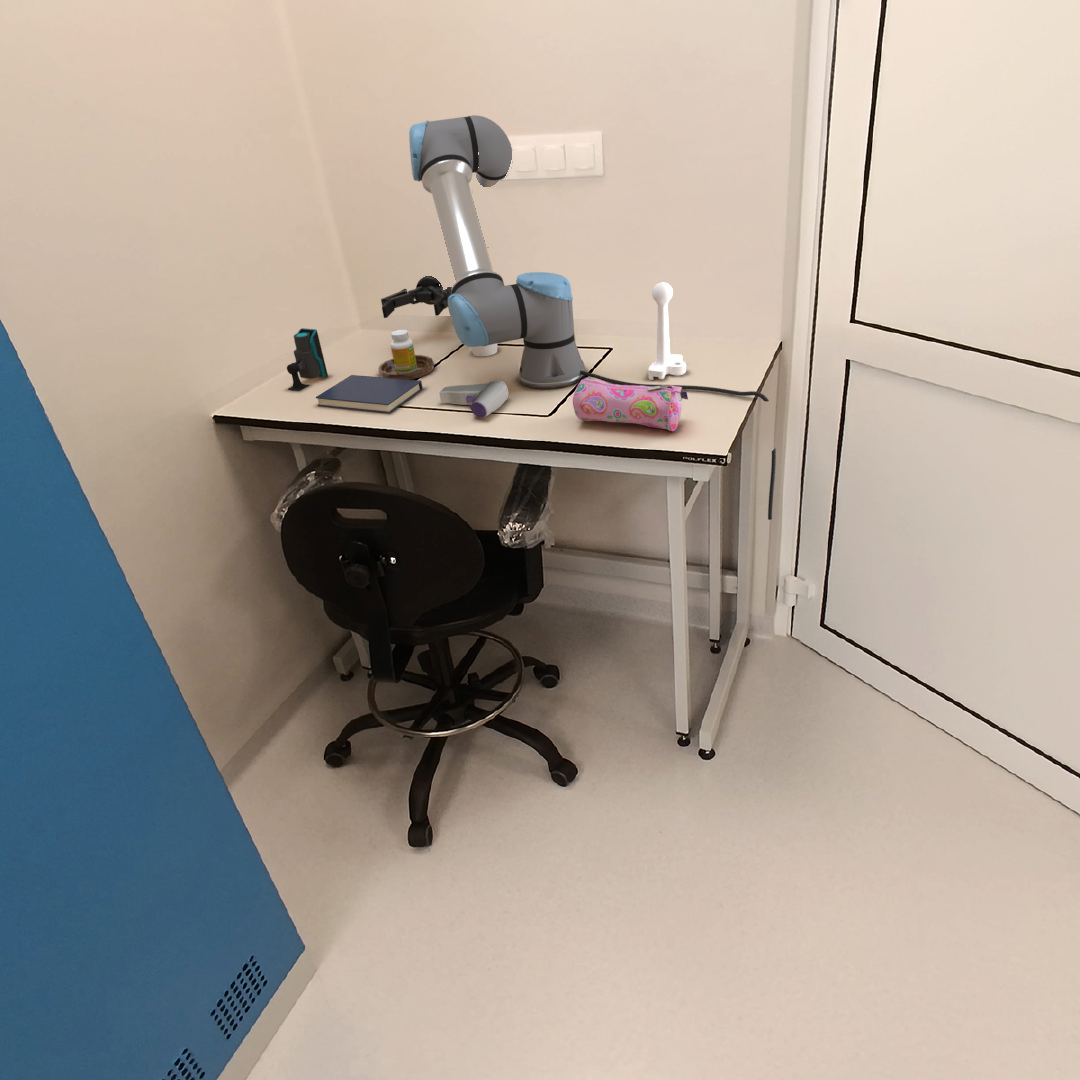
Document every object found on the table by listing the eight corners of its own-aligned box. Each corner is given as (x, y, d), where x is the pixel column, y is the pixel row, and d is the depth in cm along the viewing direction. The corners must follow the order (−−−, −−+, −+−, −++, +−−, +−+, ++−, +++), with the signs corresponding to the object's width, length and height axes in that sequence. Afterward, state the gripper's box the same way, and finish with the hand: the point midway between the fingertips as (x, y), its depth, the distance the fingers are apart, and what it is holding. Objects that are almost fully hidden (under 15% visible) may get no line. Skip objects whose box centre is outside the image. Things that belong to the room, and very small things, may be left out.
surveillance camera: (271, 341, 190) (300, 328, 197) (285, 389, 196) (312, 374, 203) (289, 343, 187) (318, 329, 195) (302, 391, 194) (329, 376, 201)
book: (423, 389, 187) (421, 380, 186) (389, 413, 177) (388, 404, 176) (353, 383, 195) (351, 374, 194) (317, 406, 185) (315, 397, 184)
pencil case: (688, 419, 159) (688, 376, 154) (674, 439, 152) (674, 394, 148) (589, 409, 168) (586, 368, 163) (571, 427, 161) (568, 385, 156)
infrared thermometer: (450, 400, 182) (511, 398, 177) (427, 422, 173) (491, 421, 167) (446, 381, 180) (507, 378, 175) (422, 402, 170) (486, 400, 165)
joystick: (665, 362, 187) (664, 274, 177) (695, 365, 183) (696, 276, 173) (644, 379, 180) (641, 289, 169) (675, 383, 176) (674, 291, 165)
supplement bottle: (415, 373, 196) (408, 334, 191) (394, 375, 197) (386, 336, 191) (419, 365, 201) (412, 327, 196) (397, 367, 201) (390, 329, 196)
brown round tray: (445, 366, 199) (443, 359, 198) (405, 385, 191) (403, 377, 190) (408, 358, 207) (407, 351, 206) (368, 376, 198) (367, 369, 198)
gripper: (479, 299, 218) (460, 324, 200) (392, 303, 222) (366, 328, 205) (475, 270, 214) (455, 294, 196) (387, 275, 218) (359, 298, 201)
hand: (409, 311), depth 200 cm, fingers open, 13 cm apart
